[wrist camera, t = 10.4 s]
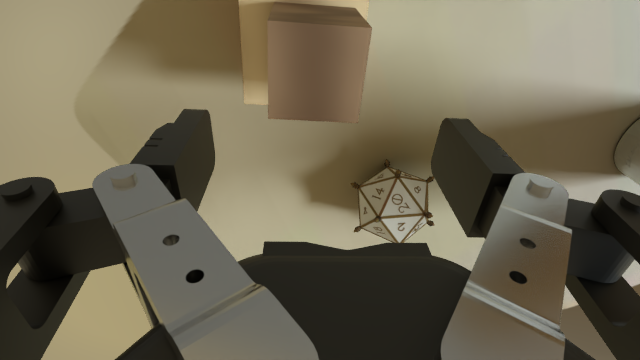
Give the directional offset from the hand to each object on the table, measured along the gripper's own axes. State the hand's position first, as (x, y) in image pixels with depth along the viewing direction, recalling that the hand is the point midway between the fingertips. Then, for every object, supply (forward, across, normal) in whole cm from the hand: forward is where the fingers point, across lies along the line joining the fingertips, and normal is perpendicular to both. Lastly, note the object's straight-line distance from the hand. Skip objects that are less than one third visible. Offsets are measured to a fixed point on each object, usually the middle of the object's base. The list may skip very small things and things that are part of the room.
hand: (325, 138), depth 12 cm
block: (+13, 0, 0) cm, 13 cm away
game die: (+21, -9, +16) cm, 28 cm away
